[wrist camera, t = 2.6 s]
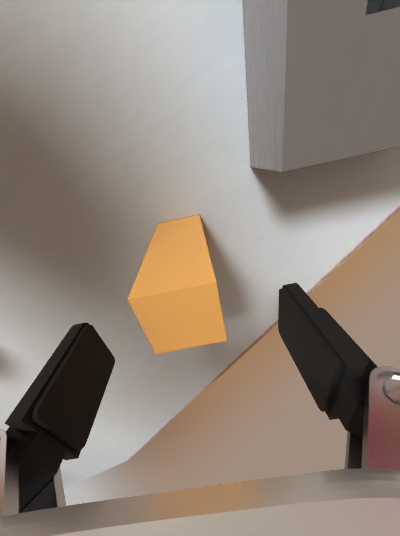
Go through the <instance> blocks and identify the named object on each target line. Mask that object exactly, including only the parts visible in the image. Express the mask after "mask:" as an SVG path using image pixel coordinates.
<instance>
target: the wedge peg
mask: <svg viewBox="0 0 400 536" xmlns="http://www.w3.org/2000/svg"><path fill="white" fill-rule="evenodd" d="M127 300H128V302H129V304H130V306H131V308H132V309H133V311H134V313H135V315H136V317H137V319H138V321H139V323H140V325H141V327H142V329H143V331H144V333H145V335H146V336H147V338H148V340H149V342H150V344H151V346H152V348H153V350H154V352H155V354H159V353H164V352H170V351H175V350H180V349H186V348H191V347H196V346H202V345H207V344H212V343H218V342H223V341H227V337H226V332H225V327H224V321H223V316H222V310H221V305H220V299H219V294H218V289H217V283H216V279H215V275H214V271H213V267H212V263H211V259H210V255H209V251H208V247H207V243H206V239H205V235H204V231H203V227H202V223H201V219H200V215H195V216H190V217H186V218H181V219H176V220H172V221H167V222H162V223H158V224H157V227H156V229H155V232H154V234H153V237H152V239H151V242H150V244H149V247H148V249H147V252H146V254H145V257H144V259H143V262H142V264H141V267H140V269H139V272H138V274H137V277H136V279H135V282H134V284H133V287H132V289H131V292H130V294H129V297H128V299H127Z"/></svg>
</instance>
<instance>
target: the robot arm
mask: <svg viewBox="0 0 400 536" xmlns="http://www.w3.org/2000/svg"><path fill="white" fill-rule="evenodd" d="M278 329H279V333H280V335H281V337H282V339H283V341H284V343H285V345H286V347H287V349H288V351H289V353H290V354H291V356H292V358H293V360H294V362H295V364H296V366H297V368H298V370H299V372H300V373H301V375H302V377H303V379H304V381H305V383H306V385H307V387H308V389H309V390H310V392H311V394H312V396H313V398H314V400H315V402H316V404H317V405H318V407H319V409H320V410H321V411H322V412H324V411H325V412H326V414H327V415H328V417H329V419H330V420H331V419H338V418H339V419H340V421H341V422H342V424H343V426H344V428H345V429H346V430H347V431H348V434H347V445H346V457H345V468H344V469H341V470H340V469H339V470H330V471H321V472H312V473H303V474H294V475H285V476H278V477H271V478H263V479H255V480H248V481H241V482H233V483H226V484H218V485H211V486H203V487H197V488H189V489H182V490H175V491H168V492H161V493H154V494H146V495H139V496H132V497H125V498H118V499H111V500H104V501H97V502H91V503H83V504H76V505H69V506H66V502H65V495H64V489H63V483H62V477H61V470H60V464H61V462H62V460H63V459H64V460H69V459H76V458H78V457H79V454H80V451H81V449H82V448H83V447H84V446H85V444H86V442H87V439H88V436H89V434H90V431H91V428H92V425H93V422H94V420H95V417H96V414H97V411H98V409H99V406H100V403H101V400H102V397H103V395H104V392H105V389H106V386H107V383H108V381H109V378H110V375H111V372H112V369H113V367H114V364H115V359H114V356H113V355H112V353H111V352H110V350H109V349H108V348H107V346H106V345H105V343H104V342H103V340H102V339H101V337H100V336H99V335H98V333H97V332H96V330H95V329H94V327H93V326H92V325H89V324H88V323H81V324H76V325H73V326H72V327H71V329H70V330H69V331H68V333H67V334H66V336H65V337H64V339H63V340H62V341H61V343H60V344H59V346H58V347H57V349H56V350H55V352H54V353H53V354H52V356H51V357H50V359H49V360H48V362H47V363H46V365H45V366H44V367H43V369H42V370H41V372H40V373H39V375H38V376H37V378H36V379H35V380H34V382H33V383H32V385H31V386H30V388H29V389H28V391H27V392H26V393H25V395H24V396H23V398H22V399H21V401H20V402H19V404H18V405H17V406H16V408H15V409H14V411H13V412H12V414H11V415H10V416H9V418H8V419H7V421H6V422H5V424H7V425H8V426H10V427H9V428H8V430H7V431H5V430H3V429H0V536H400V369H398V368H394V367H391V366H381V367H377V366H376V365H375V364H374V362H373V361H372V360H371V359H370V358H369V357H368V356H367V355H366V354H365V353H364V352H363V350H362V349H361V348H360V347H359V346H358V345H357V344H356V343H355V342H354V341H353V340H352V338H351V337H350V336H349V335H348V334H347V333H346V332H345V331H344V330H343V329H342V327H341V326H340V325H339V324H338V323H337V322H336V321H335V320H334V319H333V318H332V317H331V315H330V314H329V313H328V312H327V311H326V310H324V309H323V308H318V307H317V305H316V304H315V303H314V302H313V301H312V300H311V299H310V297H309V296H308V295H307V294H306V293H305V292H304V291H303V289H302V288H301V287H300V286H299V285H298V284H297V283H293V284H287V285H283V287H282V289H280V290H279V317H278Z"/></svg>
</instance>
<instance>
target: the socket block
mask: <svg viewBox="0 0 400 536" xmlns="http://www.w3.org/2000/svg"><path fill="white" fill-rule="evenodd" d="M367 2H368V0H243V19H244V39H245V60H246V81H247V102H248V122H249V143H250V164H251V167H253V168H260V169H266V170H272V171H278V172H285V171H290V170H294V169H299V168H304V167H308V166H313V165H317V164H322V163H326V162H331V161H335V160H340V159H344V158H349V157H353V156H358V155H362V154H367V153H372V152H376V151H381V150H385V149H390V148H394V147H399V146H400V0H383V4H382V10H381V12H377V13H373V14H369V15H365V14H366V8H367Z"/></svg>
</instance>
